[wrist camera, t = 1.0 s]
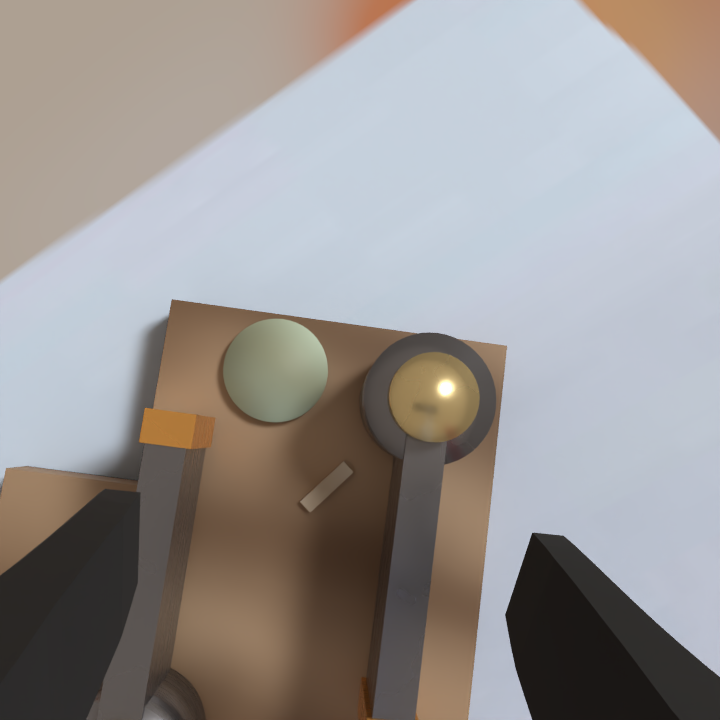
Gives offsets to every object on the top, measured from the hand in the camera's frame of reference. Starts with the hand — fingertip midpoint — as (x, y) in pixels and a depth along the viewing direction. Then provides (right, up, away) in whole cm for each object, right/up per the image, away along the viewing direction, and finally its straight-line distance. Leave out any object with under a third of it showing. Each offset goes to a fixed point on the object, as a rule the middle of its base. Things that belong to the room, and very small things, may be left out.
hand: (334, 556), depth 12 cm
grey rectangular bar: (-6, -4, +9) cm, 12 cm away
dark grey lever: (+2, -2, +10) cm, 10 cm away
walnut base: (-4, -3, +11) cm, 12 cm away
